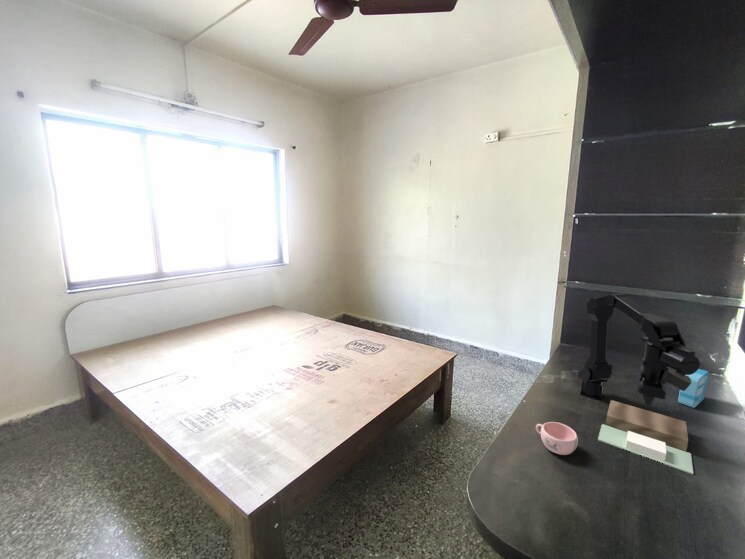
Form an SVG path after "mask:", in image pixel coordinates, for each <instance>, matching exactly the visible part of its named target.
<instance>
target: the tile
mask: <svg viewBox="0 0 745 559" xmlns="http://www.w3.org/2000/svg"><path fill="white" fill-rule="evenodd" d="M626 448H628V449H631V450H634V451H637V452H639V453H642V454H645V455H648V456H651V457H654V458H657V459H660V460H662V461H665V458H666V444H665V442H662V441H659V440H656V439H652V438H649V437H646V436H643V435H640V434H637V433H634V432H631V431H628V433H627V441H626Z"/></svg>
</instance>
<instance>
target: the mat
mask: <svg viewBox="0 0 745 559" xmlns="http://www.w3.org/2000/svg"><path fill="white" fill-rule="evenodd" d="M627 433H628V432H625V431H622V430H619V429H616V428H613V427H610V426H607V425H606V424H604V423H602V424H601V425H600V430H599V432H598V437H597V441H598V442H600V443H605V444H608V445H611V446H612V447H614V448H615V447H616V448H619V449H621V450H623V449H624V450H623V451H626V450H627V451H626V452H629V451H630V453H632V454H635V455H637V456H640V455H641V457H643V458H646V457H647V458H646V459H648V458H649V460H651V459H652V460H651V461H654V460H655V462H657V461H658V462H657V463H659V462H660V463H659V464H662V463H663V464H662V465H664V466H665V465H666V466H668V467H671V468H673V469H676V470H678V471H679V470H680V471H682V472H685V473H687V474H691V475H694V467H693V458H692V453H690V452H687V451H686V452H685V451H682V450H679V449H676V448H673V447H670V446H667V445H666V458H665V461H662V460H660V459H657V458H654V457H651V456H648V455H645V454H642V453H639V452H637V451H634V450H631V449H628V448H626V441H627Z"/></svg>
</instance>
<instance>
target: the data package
mask: <svg viewBox="0 0 745 559" xmlns="http://www.w3.org/2000/svg"><path fill="white" fill-rule="evenodd" d="M709 375H710V372H709V371H707V370H704V369H700V368H699V369H698V370H697V371H696V372H695V373H693V374H691V375H686V376H689V378H690V379H691V384H690V385H689V387H688V388H687V389H686V390H685V391H682V390H680V389H679V391H678V392H679V394H678V399H677V401H678V404H681V405H683V406H684V405H685V406H687V407H690V408H693V409H694V408H696V407H697V406H698V405H699V404H700V403H702V402H703V400H704V399H705V396H706V391H707V386H708V381H709Z"/></svg>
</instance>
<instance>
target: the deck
mask: <svg viewBox="0 0 745 559" xmlns="http://www.w3.org/2000/svg"><path fill="white" fill-rule="evenodd" d="M605 425H607V426H610V427H613V428H616V429H619V430H622V431H625V432H628V431H631V432H634V433H637V434H640V435H643V436H646V437H649V438H652V439H656V440H659V441H662V442H665V444H666V445H667V446H670V447H673V448H676V449H679V450H682V451H685V452H687V451H688V450H687V449H688V445H689V444H688V443H689V435H688V429H687V421H685V420H682V419H677V418H674V417H671V416H667V415H664V414H661V413H658V412H655V411H651V410H646V409H643V408H641V407H636V406H633V405H630V404H626V403H623V402H619V401H616V400H613V399H610V402H609V406H608V410H607V414H606V420H605Z"/></svg>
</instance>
